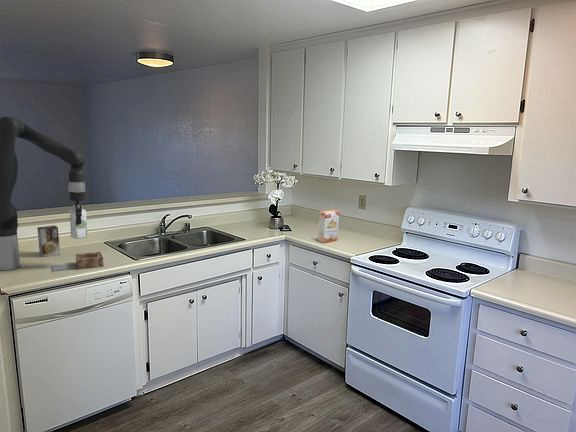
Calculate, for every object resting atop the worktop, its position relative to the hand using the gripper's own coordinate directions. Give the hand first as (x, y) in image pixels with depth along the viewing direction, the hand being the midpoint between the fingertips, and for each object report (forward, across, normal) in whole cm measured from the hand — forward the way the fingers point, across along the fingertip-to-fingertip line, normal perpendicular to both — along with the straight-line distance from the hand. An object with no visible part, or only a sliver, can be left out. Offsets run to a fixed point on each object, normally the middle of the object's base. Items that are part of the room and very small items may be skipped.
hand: (78, 222), depth 213 cm
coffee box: (+24, -30, -13) cm, 40 cm away
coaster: (+23, 0, -8) cm, 24 cm away
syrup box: (+8, 0, 0) cm, 8 cm away
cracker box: (+20, +9, +152) cm, 154 cm away
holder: (+23, 0, +5) cm, 23 cm away
